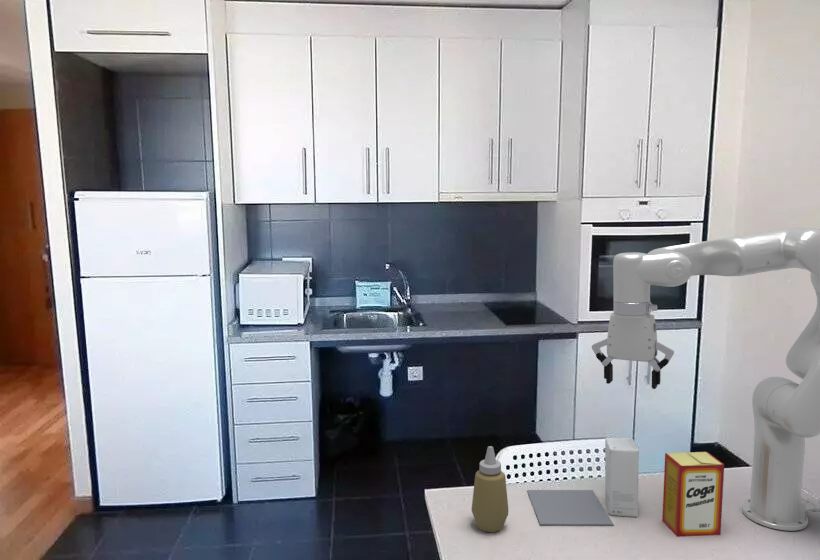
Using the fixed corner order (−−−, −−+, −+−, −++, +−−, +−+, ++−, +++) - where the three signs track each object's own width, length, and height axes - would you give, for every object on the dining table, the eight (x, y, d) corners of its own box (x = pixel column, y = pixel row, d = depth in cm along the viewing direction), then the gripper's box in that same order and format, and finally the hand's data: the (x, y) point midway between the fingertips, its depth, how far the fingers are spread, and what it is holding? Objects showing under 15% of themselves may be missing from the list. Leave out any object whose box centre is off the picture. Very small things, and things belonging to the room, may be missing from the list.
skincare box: (638, 518, 133) (640, 451, 131) (607, 515, 134) (609, 449, 133) (631, 500, 141) (634, 437, 139) (602, 498, 143) (604, 435, 141)
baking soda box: (676, 536, 126) (680, 464, 124) (662, 520, 132) (665, 451, 130) (720, 535, 126) (724, 462, 124) (703, 519, 133) (707, 450, 131)
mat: (592, 491, 146) (592, 489, 146) (613, 525, 130) (613, 524, 130) (527, 491, 146) (527, 489, 146) (540, 525, 130) (540, 524, 130)
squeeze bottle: (512, 521, 132) (513, 443, 130) (502, 539, 125) (503, 457, 123) (478, 513, 136) (478, 437, 134) (466, 530, 128) (466, 451, 126)
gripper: (676, 308, 129) (676, 384, 131) (596, 304, 138) (596, 376, 140) (671, 314, 123) (670, 394, 125) (587, 309, 132) (587, 384, 134)
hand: (631, 384), depth 132 cm, fingers open, 9 cm apart
